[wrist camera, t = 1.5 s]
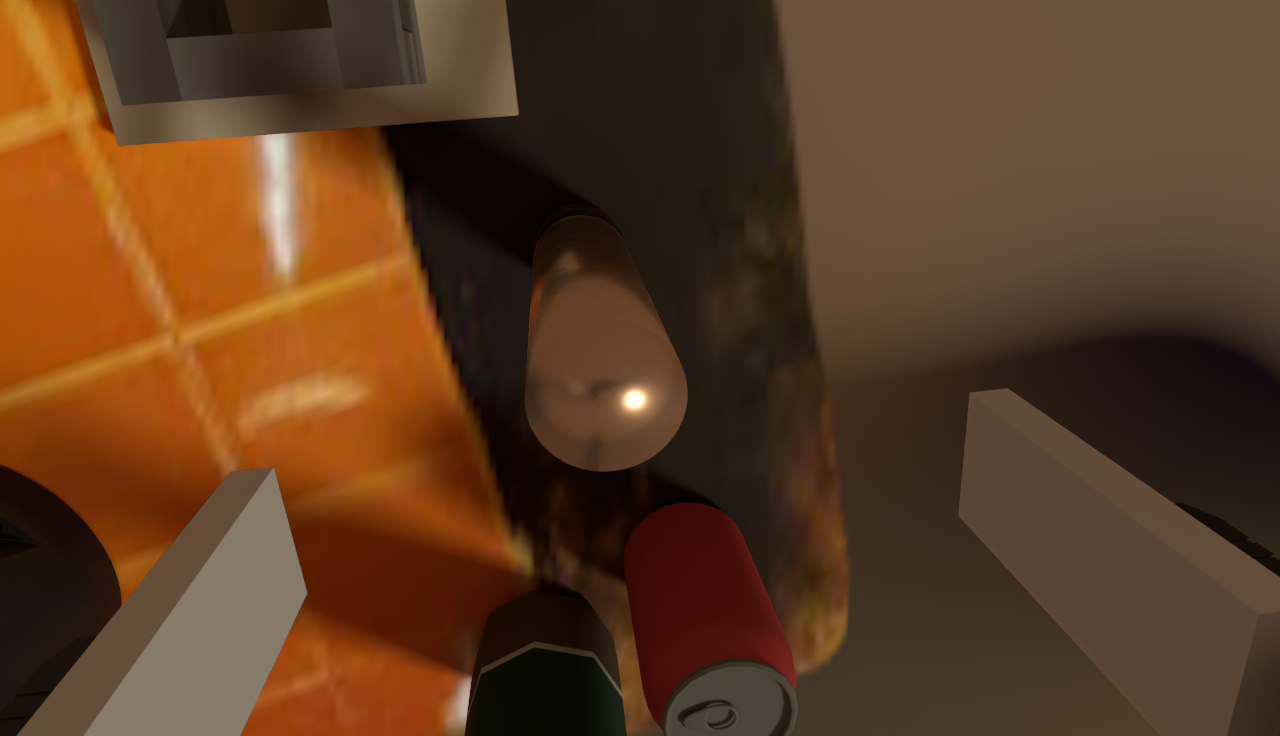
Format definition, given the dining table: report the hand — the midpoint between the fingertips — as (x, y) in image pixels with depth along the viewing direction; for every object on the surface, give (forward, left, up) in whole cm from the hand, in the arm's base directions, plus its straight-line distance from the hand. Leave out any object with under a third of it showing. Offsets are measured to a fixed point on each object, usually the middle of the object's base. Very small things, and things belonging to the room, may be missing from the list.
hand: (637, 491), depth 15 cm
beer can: (+4, -17, -23) cm, 29 cm away
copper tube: (0, 0, -23) cm, 23 cm away
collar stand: (-10, +12, -23) cm, 28 cm away
